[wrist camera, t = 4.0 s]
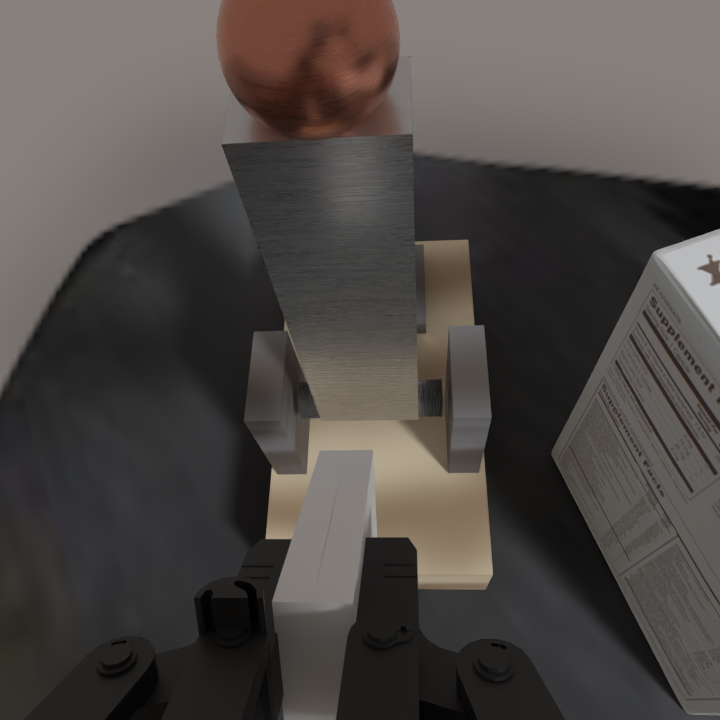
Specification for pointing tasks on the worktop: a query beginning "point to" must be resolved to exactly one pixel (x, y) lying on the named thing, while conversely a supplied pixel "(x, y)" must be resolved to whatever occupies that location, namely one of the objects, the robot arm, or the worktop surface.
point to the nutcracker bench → (397, 432)
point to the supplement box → (660, 463)
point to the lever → (331, 194)
